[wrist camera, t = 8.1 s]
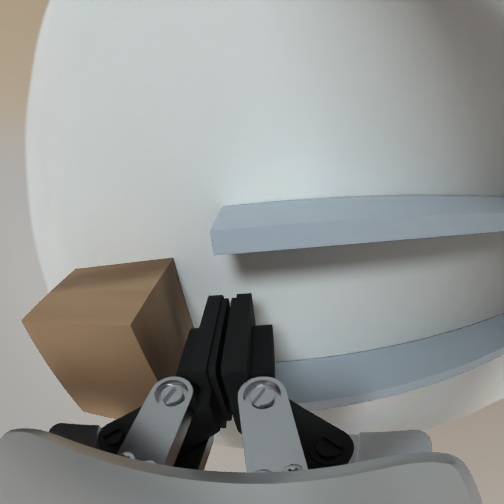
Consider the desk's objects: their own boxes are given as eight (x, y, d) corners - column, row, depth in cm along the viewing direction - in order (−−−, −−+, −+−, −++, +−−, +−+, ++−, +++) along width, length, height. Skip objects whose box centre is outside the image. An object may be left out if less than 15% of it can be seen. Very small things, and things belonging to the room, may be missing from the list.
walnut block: (76, 267, 12) (21, 320, 8) (173, 256, 12) (130, 325, 7) (114, 352, 15) (83, 411, 10) (203, 354, 14) (186, 428, 10)
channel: (222, 206, 11) (210, 230, 8) (572, 202, 9) (593, 214, 6) (248, 373, 15) (246, 415, 12) (548, 300, 13) (564, 316, 10)
